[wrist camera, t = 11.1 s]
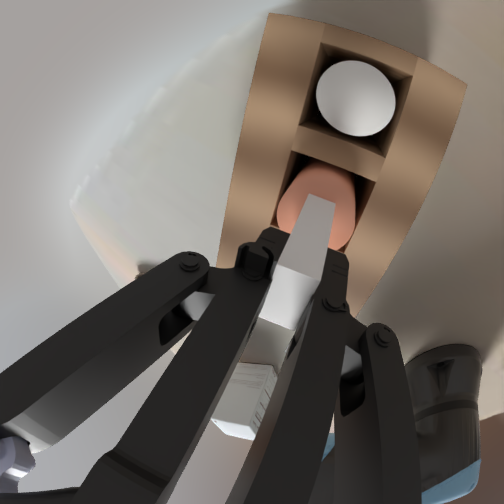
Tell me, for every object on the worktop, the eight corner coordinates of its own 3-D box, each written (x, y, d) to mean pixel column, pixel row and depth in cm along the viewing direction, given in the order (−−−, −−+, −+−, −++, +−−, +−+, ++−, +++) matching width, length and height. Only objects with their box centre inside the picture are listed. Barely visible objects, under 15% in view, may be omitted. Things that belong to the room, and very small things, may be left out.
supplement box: (248, 382, 51) (224, 434, 41) (236, 360, 47) (207, 417, 37) (282, 386, 48) (261, 443, 38) (273, 364, 44) (248, 427, 34)
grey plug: (370, 130, 20) (381, 148, 13) (322, 112, 21) (307, 120, 14) (384, 86, 18) (404, 78, 10) (335, 68, 18) (326, 50, 11)
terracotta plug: (344, 206, 23) (337, 264, 16) (297, 189, 23) (268, 237, 16) (361, 161, 20) (367, 200, 13) (311, 142, 21) (288, 169, 14)
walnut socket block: (346, 274, 30) (338, 340, 22) (250, 236, 32) (212, 290, 24) (425, 87, 17) (467, 84, 9) (299, 42, 19) (269, 12, 11)
